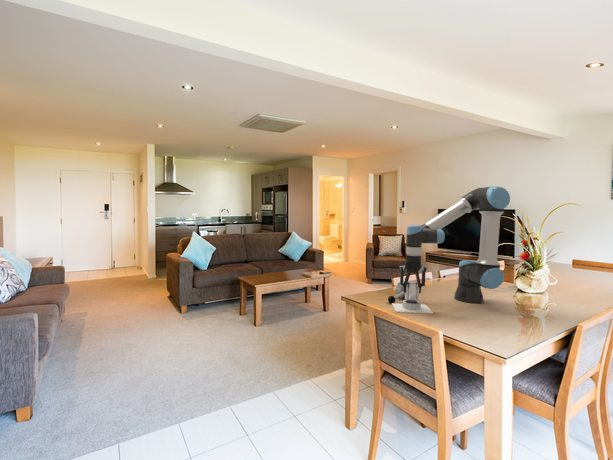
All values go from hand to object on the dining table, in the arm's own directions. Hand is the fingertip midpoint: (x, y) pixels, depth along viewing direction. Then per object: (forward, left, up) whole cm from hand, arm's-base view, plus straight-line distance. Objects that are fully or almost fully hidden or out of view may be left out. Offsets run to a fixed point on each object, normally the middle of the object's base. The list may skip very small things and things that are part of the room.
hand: (411, 298), depth 170 cm
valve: (+4, -17, -6) cm, 18 cm away
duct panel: (0, 0, -5) cm, 5 cm away
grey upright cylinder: (0, 0, -3) cm, 3 cm away
